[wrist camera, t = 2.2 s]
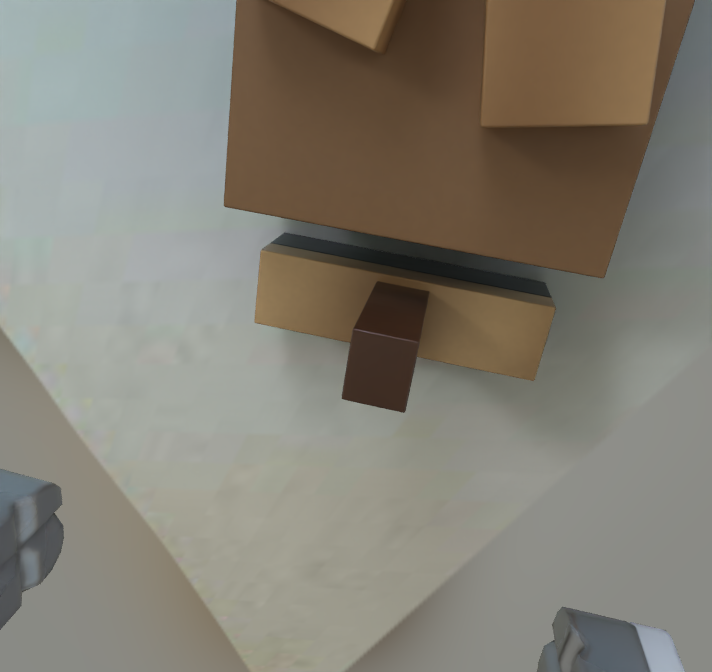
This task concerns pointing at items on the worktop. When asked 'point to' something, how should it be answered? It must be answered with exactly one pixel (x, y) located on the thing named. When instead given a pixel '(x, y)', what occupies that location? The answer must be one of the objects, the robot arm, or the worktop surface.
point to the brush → (401, 313)
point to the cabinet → (422, 140)
